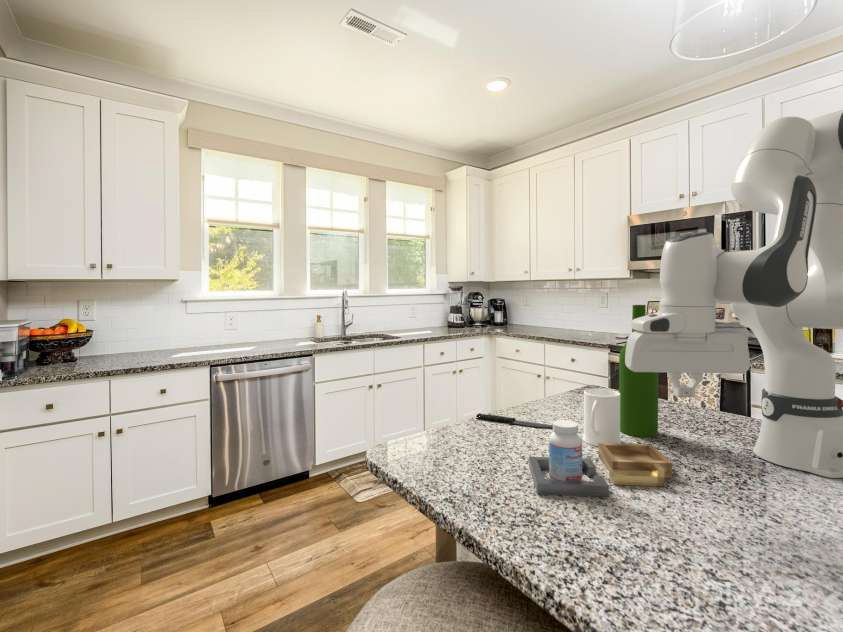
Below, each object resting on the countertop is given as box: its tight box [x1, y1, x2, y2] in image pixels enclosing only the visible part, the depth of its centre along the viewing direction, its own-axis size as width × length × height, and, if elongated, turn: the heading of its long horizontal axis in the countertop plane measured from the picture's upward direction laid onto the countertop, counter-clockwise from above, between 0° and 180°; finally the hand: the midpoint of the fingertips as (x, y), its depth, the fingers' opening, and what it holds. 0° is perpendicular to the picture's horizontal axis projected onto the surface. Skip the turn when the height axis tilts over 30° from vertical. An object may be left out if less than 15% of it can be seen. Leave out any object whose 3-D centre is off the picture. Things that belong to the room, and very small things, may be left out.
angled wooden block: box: [608, 464, 665, 487], centre depth 81 cm, size 9×3×3 cm, turn 83°
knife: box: [475, 413, 553, 429], centre depth 117 cm, size 25×2×5 cm
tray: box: [597, 443, 673, 479], centre depth 88 cm, size 11×10×3 cm
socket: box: [528, 456, 610, 498], centre depth 82 cm, size 12×12×2 cm
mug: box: [582, 388, 622, 447], centre depth 101 cm, size 12×8×12 cm
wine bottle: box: [618, 304, 659, 438], centre depth 108 cm, size 9×9×32 cm
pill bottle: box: [548, 419, 583, 481], centre depth 82 cm, size 6×6×11 cm
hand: (684, 396), depth 79 cm, fingers closed
